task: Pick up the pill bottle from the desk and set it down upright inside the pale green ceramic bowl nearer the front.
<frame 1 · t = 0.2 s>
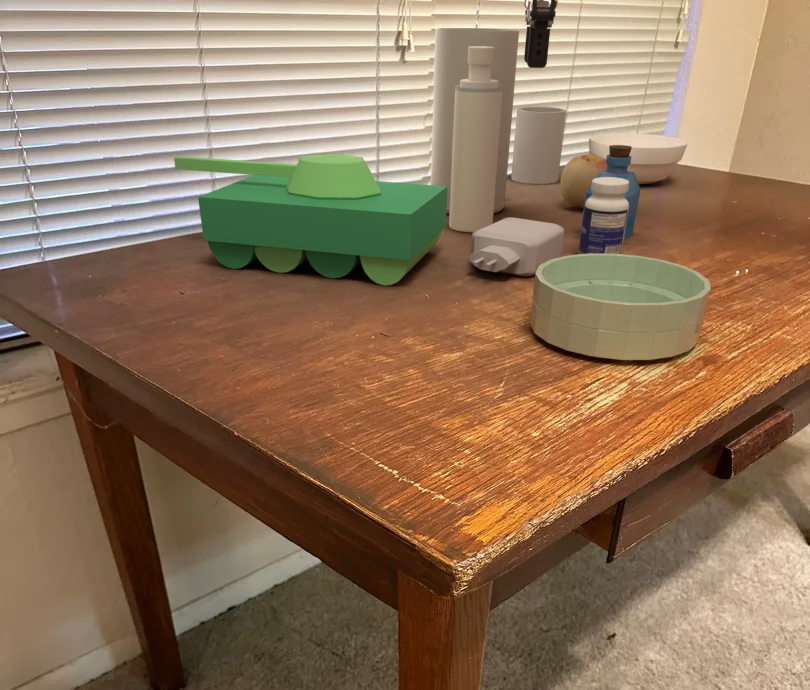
hand: (534, 65, 89), 22 cm above the table, tool pointing down, fingers open, 8 cm apart
spray bottle: (470, 228, 117), on the table
cylinder vase: (466, 209, 127), on the table
charger: (505, 271, 99), on the table
apple: (583, 209, 128), on the table
ceramic bowl: (611, 334, 80), on the table
toy tank: (303, 258, 102), on the table
perfume bottle: (606, 236, 114), on the table
pill bottle: (598, 261, 103), on the table
cup: (534, 180, 149), on the table
bowl: (630, 182, 148), on the table
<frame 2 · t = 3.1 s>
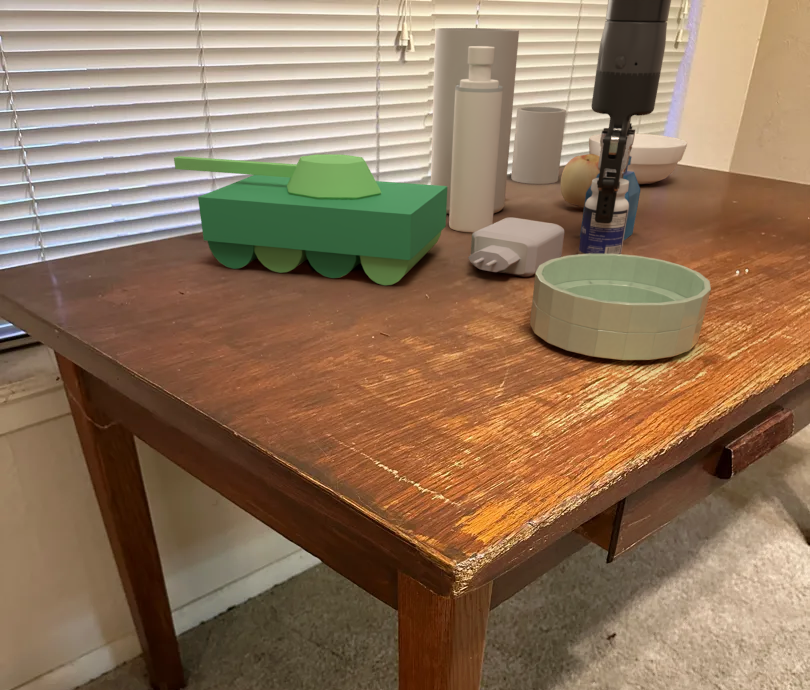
hand: (605, 216, 100), 6 cm above the table, tool pointing down, fingers closed on pill bottle, 5 cm apart
pill bottle: (598, 261, 103), on the table, touching gripper
everything else where it was.
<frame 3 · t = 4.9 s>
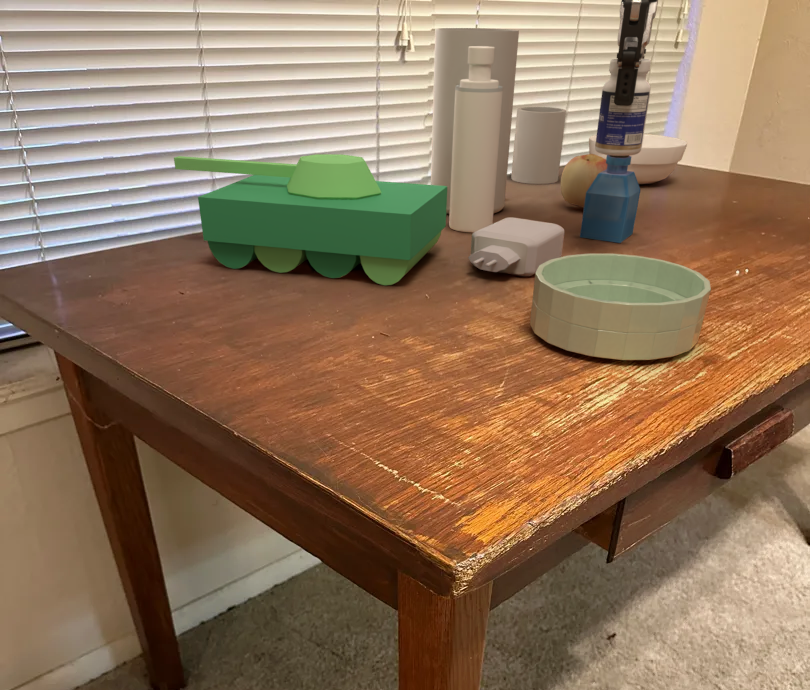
hand: (624, 101, 92), 19 cm above the table, tool pointing down, fingers closed on pill bottle, 5 cm apart
pill bottle: (616, 154, 95), point 13 cm above the table, touching gripper
everything else where it was.
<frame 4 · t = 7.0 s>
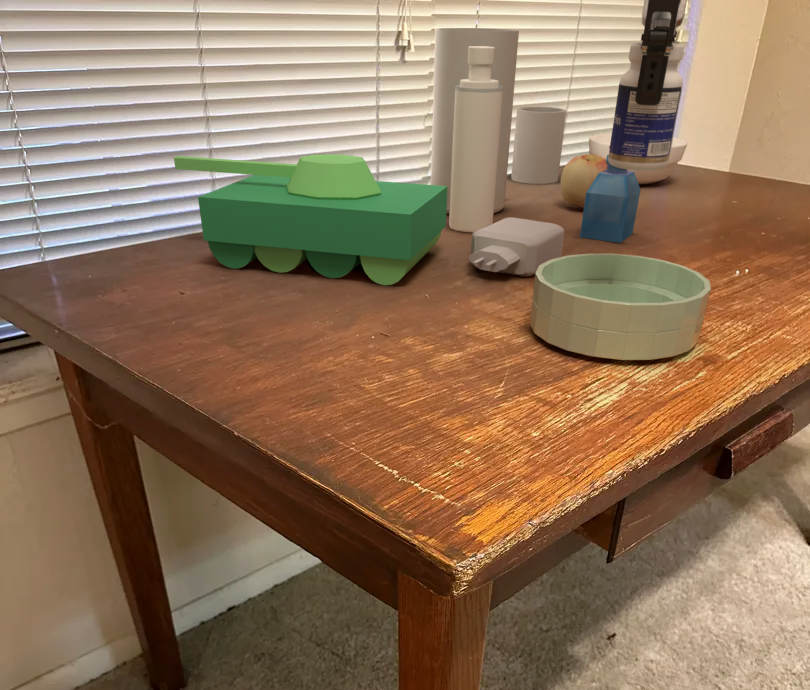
hand: (648, 100, 70), 21 cm above the table, tool pointing down, fingers closed on pill bottle, 5 cm apart
pill bottle: (636, 168, 73), point 16 cm above the table, touching gripper
everything else where it was.
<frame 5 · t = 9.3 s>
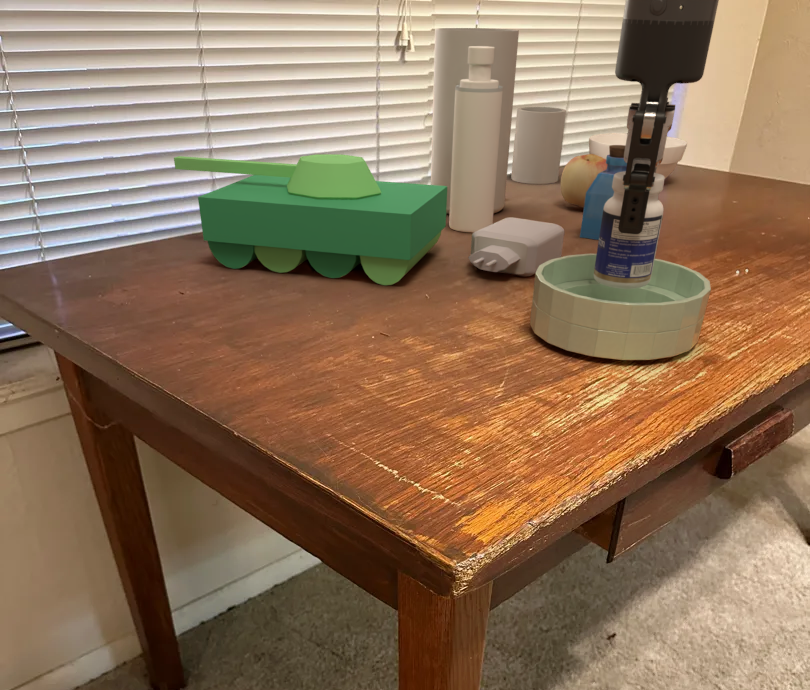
hand: (631, 224, 74), 11 cm above the table, tool pointing down, fingers closed on pill bottle, 5 cm apart
pill bottle: (620, 283, 77), point 5 cm above the table, touching gripper
everything else where it was.
when the fingers open (6 cm above the table, at t = 11.1 s): pill bottle stays where it is, resting on ceramic bowl.
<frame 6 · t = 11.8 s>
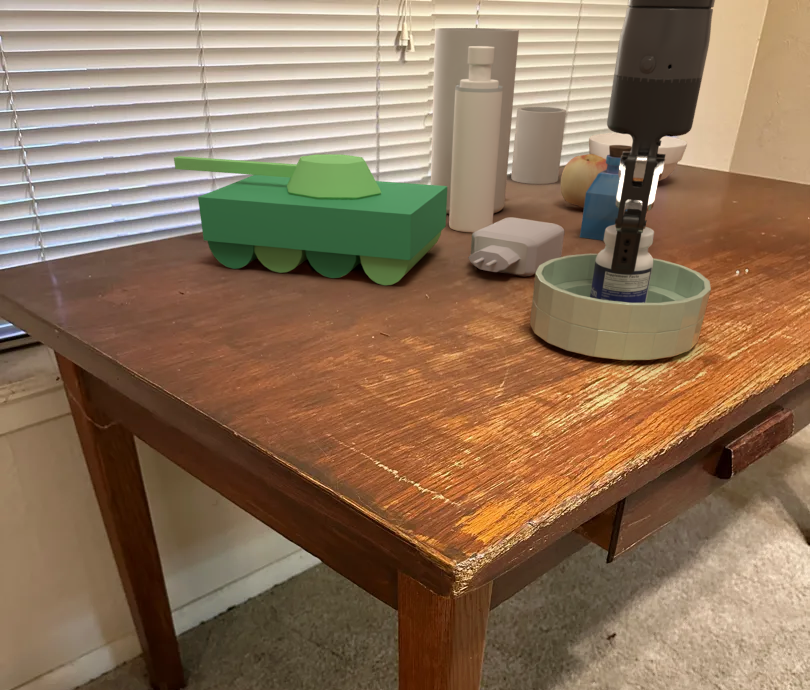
hand: (624, 260, 76), 8 cm above the table, tool pointing down, fingers open, 8 cm apart
pill bottle: (612, 330, 80), resting on ceramic bowl
everything else where it was.
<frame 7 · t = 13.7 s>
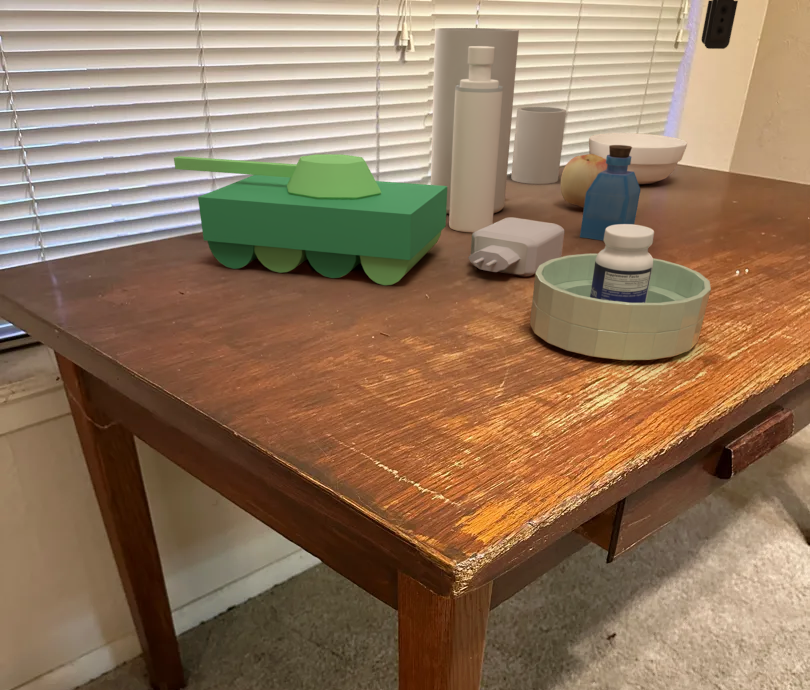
hand: (713, 46, 75), 25 cm above the table, tool pointing down, fingers open, 8 cm apart
nothing on the table moved.
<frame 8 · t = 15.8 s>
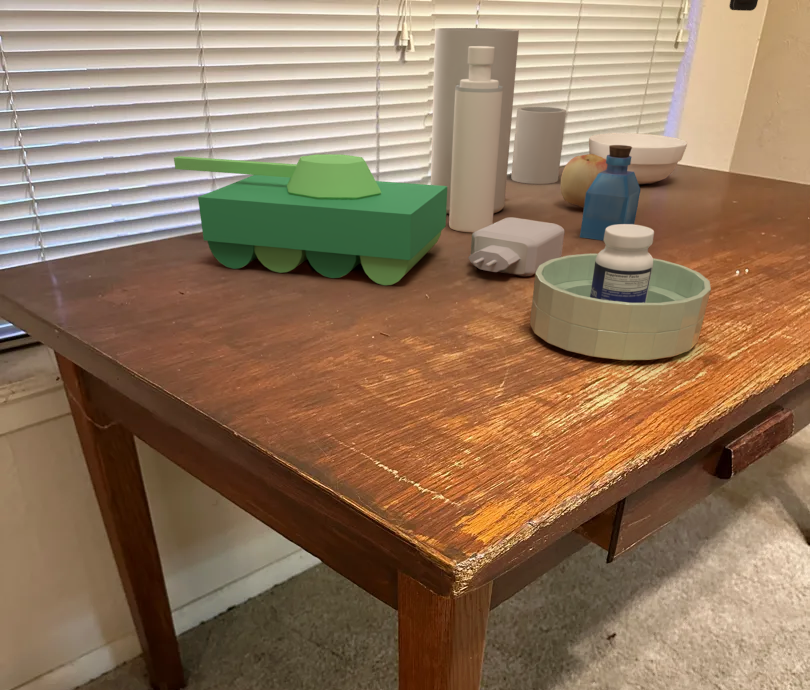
hand: (741, 10, 80), 28 cm above the table, tool pointing down, fingers open, 8 cm apart
nothing on the table moved.
at the end: pill bottle inside the target area in the ceramic bowl (0.0 cm from its centre), point 0.4 cm above the ceramic bowl's base; pill bottle tilted 0°; the gripper is holding nothing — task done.
